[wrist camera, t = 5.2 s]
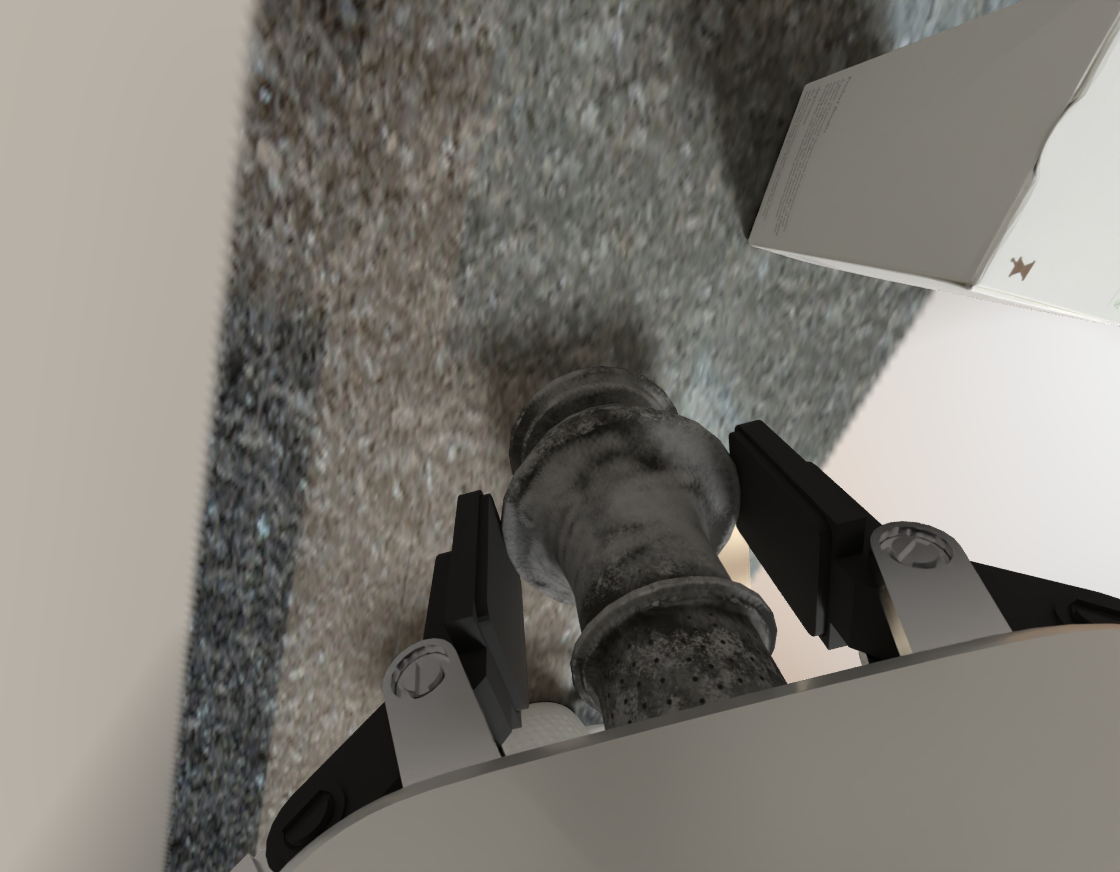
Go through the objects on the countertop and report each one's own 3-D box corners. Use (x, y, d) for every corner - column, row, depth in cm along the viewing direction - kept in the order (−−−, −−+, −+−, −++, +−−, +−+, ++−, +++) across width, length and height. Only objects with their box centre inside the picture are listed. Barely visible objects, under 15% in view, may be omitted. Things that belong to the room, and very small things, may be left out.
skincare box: (833, 269, 30) (1122, 344, 16) (736, 243, 29) (960, 300, 15) (908, 110, 26) (1358, 31, 13) (801, 70, 25) (1174, -66, 11)
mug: (620, 657, 44) (664, 828, 32) (647, 726, 49) (694, 895, 37) (462, 707, 44) (450, 892, 33) (506, 770, 49) (508, 949, 38)
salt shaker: (471, 388, 14) (401, 1116, 3) (678, 331, 14) (1320, 873, 3) (528, 546, 16) (592, 1209, 6) (699, 499, 16) (1071, 1083, 6)
